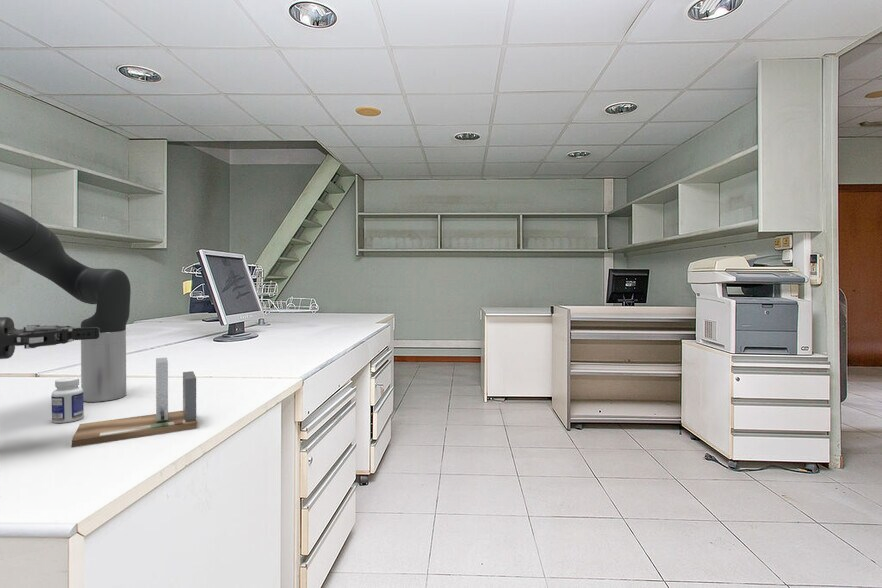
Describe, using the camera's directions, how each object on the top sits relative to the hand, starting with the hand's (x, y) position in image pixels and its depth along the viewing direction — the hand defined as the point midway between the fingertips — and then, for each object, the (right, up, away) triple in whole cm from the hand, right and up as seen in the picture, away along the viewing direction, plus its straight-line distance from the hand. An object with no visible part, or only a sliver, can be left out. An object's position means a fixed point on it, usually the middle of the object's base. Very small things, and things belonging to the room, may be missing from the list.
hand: (99, 332), depth 86 cm
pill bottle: (-14, -20, +9) cm, 26 cm away
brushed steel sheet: (+9, -18, +5) cm, 21 cm away
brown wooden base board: (+5, -20, +4) cm, 21 cm away
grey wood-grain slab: (+13, -19, +9) cm, 24 cm away
